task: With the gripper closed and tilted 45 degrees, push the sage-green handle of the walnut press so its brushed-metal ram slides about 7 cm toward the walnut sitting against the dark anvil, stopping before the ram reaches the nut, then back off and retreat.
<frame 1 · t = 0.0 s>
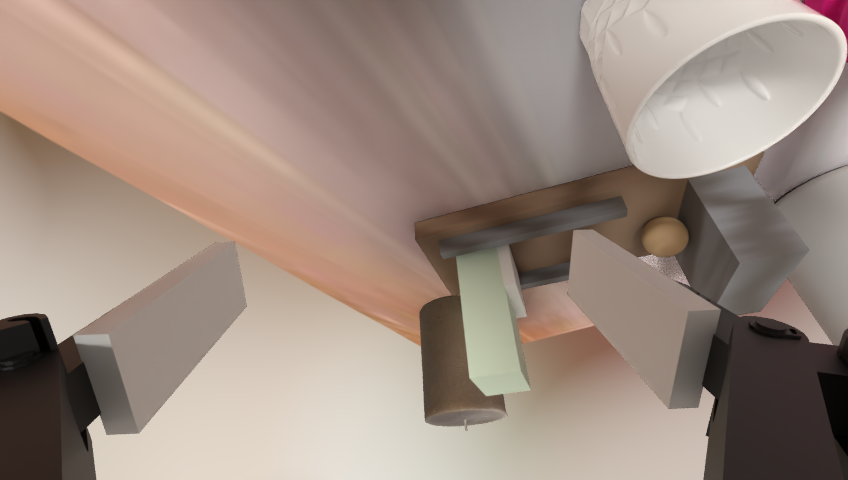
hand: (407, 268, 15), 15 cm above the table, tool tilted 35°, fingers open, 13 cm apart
pillar candle: (454, 310, 54), on the table
ram: (496, 316, 36), point 8 cm above the table, slide at 0.0 cm
white cup: (637, 4, 23), on the table
press bench: (568, 223, 39), on the table
cylinder vase: (830, 200, 38), on the table
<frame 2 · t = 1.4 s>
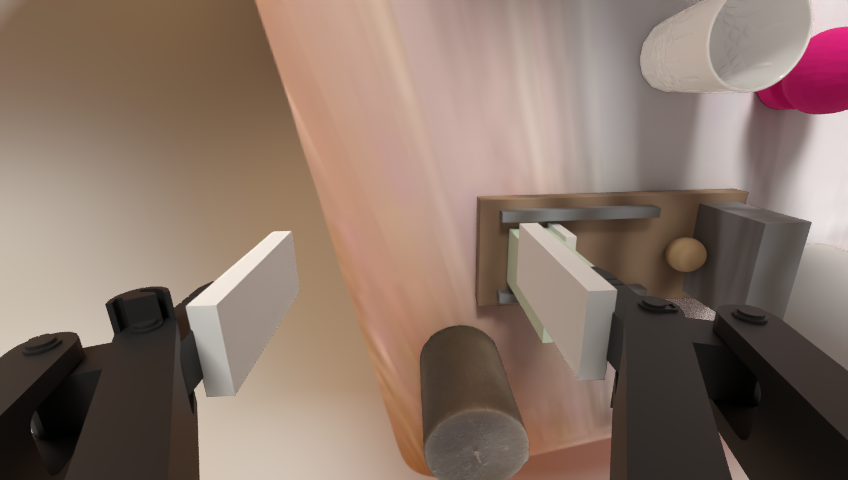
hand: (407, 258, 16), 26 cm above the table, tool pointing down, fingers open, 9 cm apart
pillar candle: (458, 359, 48), on the table
ram: (550, 277, 36), point 8 cm above the table, slide at 0.0 cm
pink bowling pin: (784, 76, 39), on the table
white cup: (671, 55, 38), on the table
press bench: (600, 245, 44), on the table
cylinder vase: (791, 290, 47), on the table
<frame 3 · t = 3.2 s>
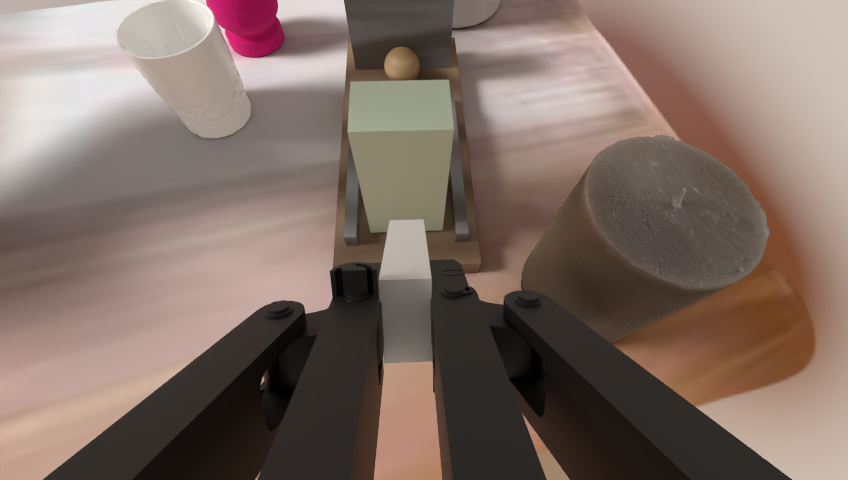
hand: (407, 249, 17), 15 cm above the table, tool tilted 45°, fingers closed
pillar candle: (578, 291, 33), on the table
ram: (403, 162, 28), point 8 cm above the table, slide at 0.0 cm
pink bowling pin: (258, 41, 47), on the table
white cup: (220, 116, 42), on the table
press bench: (404, 146, 40), on the table
cylinder vase: (452, 2, 51), on the table
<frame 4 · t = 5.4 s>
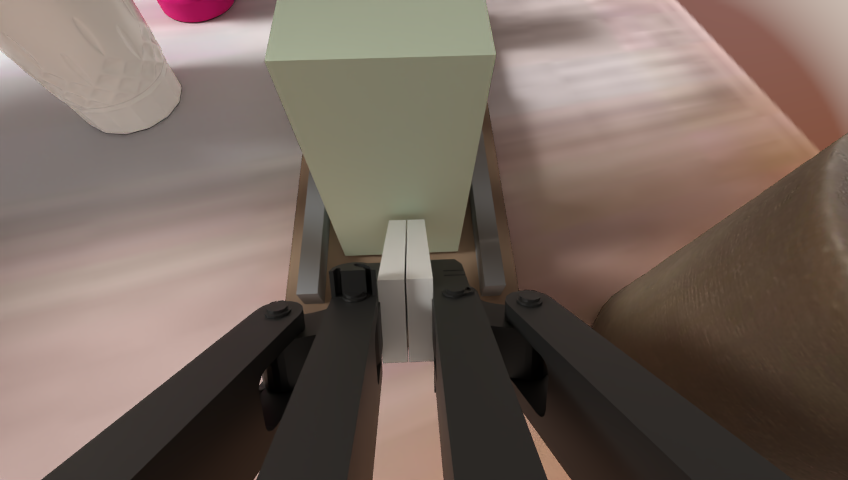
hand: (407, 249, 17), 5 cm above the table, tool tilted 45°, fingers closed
pillar candle: (680, 371, 21), on the table
ram: (394, 140, 17), point 8 cm above the table, slide at 1.5 cm, touching gripper
pink bowling pin: (201, 3, 35), on the table
white cup: (137, 102, 29), on the table
press bench: (400, 143, 27), on the table
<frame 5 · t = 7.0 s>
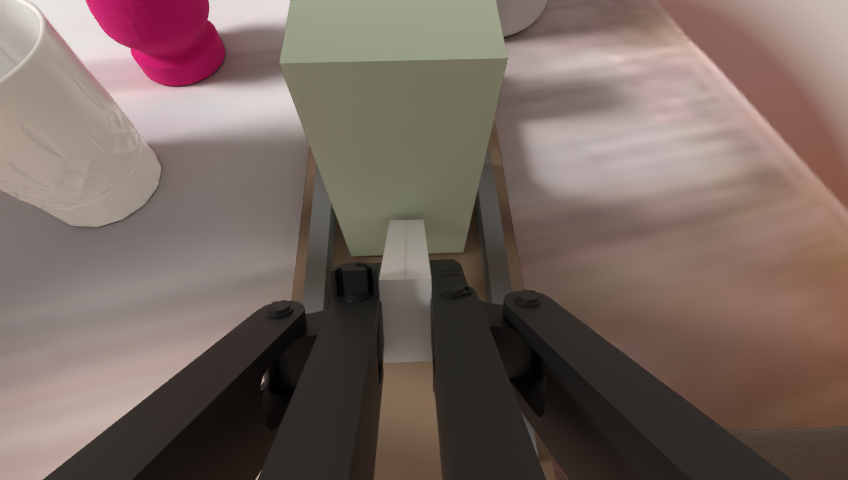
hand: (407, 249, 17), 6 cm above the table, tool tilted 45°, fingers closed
ram: (402, 142, 17), point 8 cm above the table, slide at 9.0 cm, touching gripper
pink bowling pin: (187, 61, 31), on the table
white cup: (111, 185, 26), on the table
press bench: (407, 240, 24), on the table
cylinder vase: (474, 1, 35), on the table
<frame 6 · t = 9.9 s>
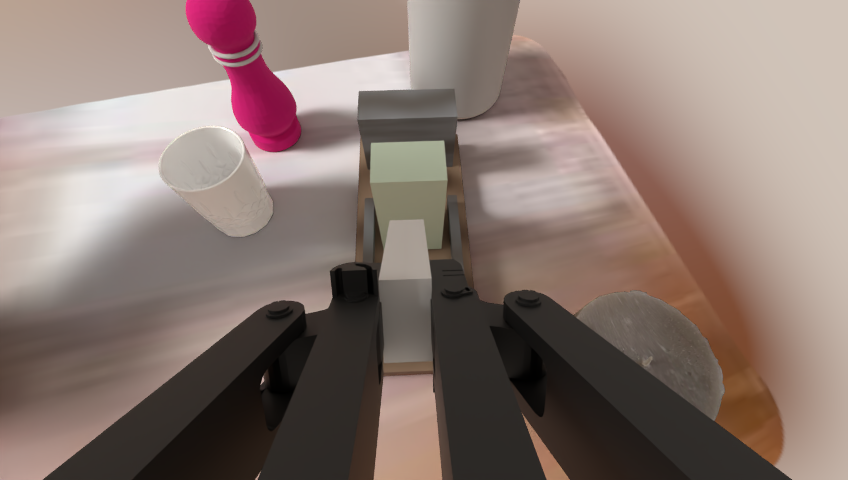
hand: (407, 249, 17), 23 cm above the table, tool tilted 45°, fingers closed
pillar candle: (570, 389, 37), on the table
ram: (410, 197, 37), point 8 cm above the table, slide at 9.1 cm
pink bowling pin: (278, 134, 51), on the table
white cup: (245, 213, 46), on the table
press bench: (412, 243, 44), on the table
cylinder vase: (454, 90, 55), on the table
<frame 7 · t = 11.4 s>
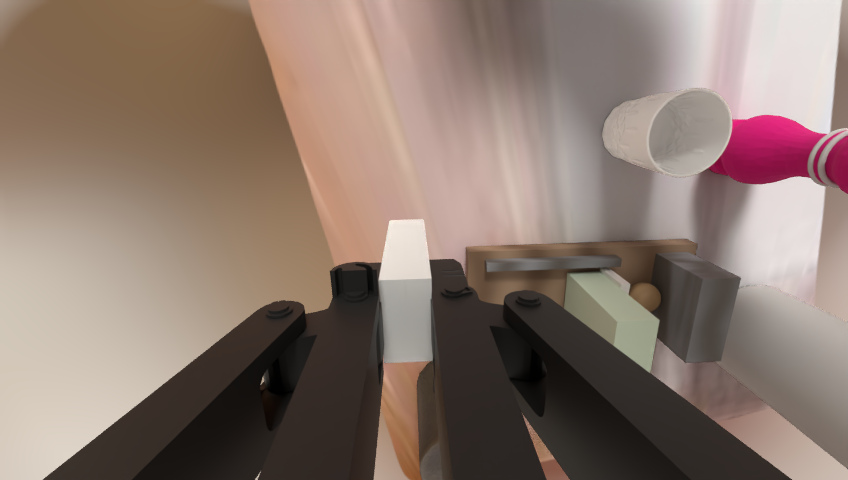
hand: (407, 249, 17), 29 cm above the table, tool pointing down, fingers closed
pillar candle: (451, 384, 55), on the table
ram: (608, 317, 43), point 8 cm above the table, slide at 9.1 cm
pink bowling pin: (726, 147, 46), on the table
white cup: (629, 130, 45), on the table
press bench: (572, 286, 51), on the table
cylinder vase: (741, 323, 54), on the table
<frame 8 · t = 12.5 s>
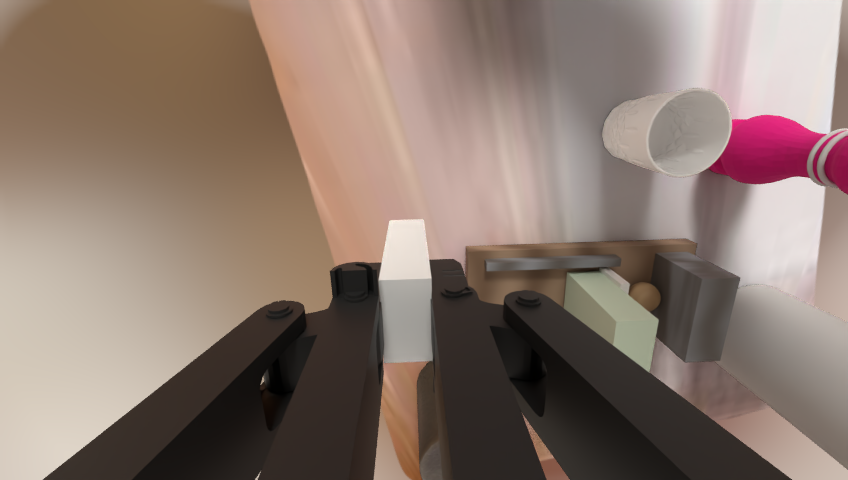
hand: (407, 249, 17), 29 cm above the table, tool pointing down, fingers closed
pillar candle: (451, 383, 55), on the table
ram: (608, 317, 43), point 8 cm above the table, slide at 9.1 cm
pink bowling pin: (726, 146, 46), on the table
white cup: (629, 130, 45), on the table
press bench: (572, 286, 51), on the table
cylinder vase: (740, 323, 54), on the table
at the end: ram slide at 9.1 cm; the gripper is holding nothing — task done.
